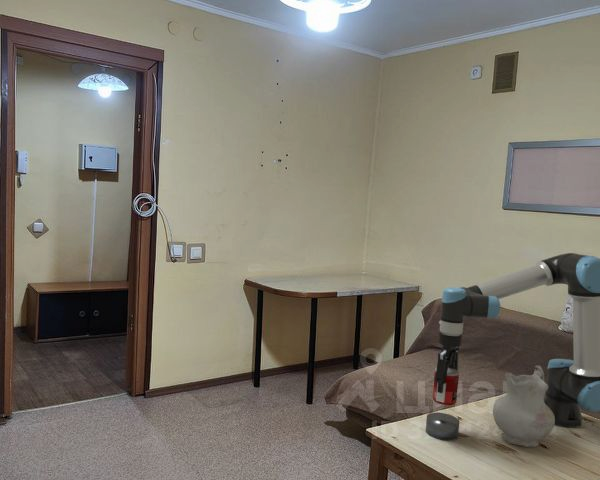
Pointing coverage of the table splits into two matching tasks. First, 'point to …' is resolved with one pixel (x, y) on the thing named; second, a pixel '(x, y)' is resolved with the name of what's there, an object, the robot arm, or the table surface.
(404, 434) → the table surface
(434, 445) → the table surface
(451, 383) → the canned food
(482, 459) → the table surface
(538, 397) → the ceramic pitcher
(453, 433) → the pedestal
